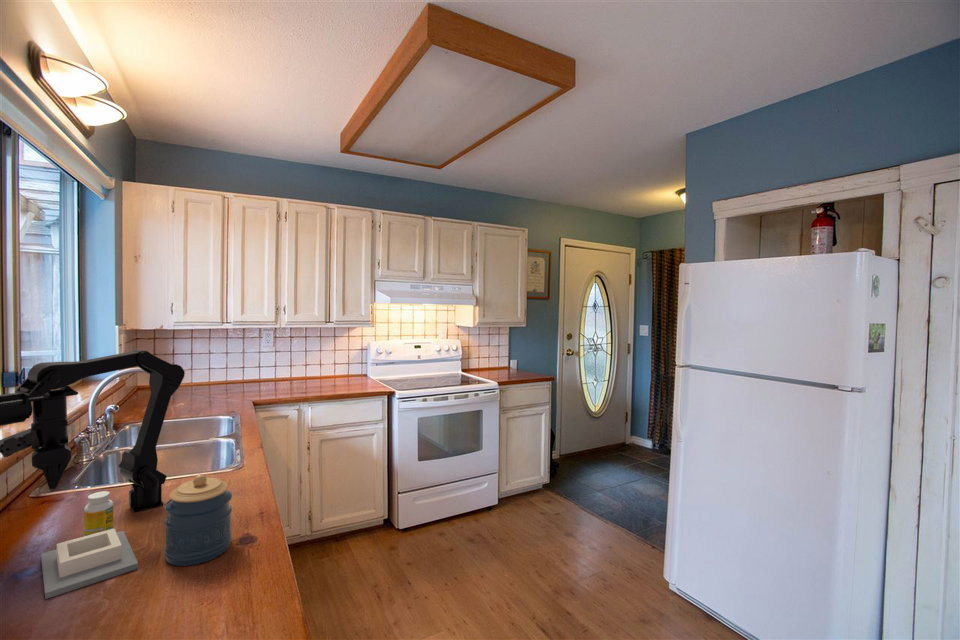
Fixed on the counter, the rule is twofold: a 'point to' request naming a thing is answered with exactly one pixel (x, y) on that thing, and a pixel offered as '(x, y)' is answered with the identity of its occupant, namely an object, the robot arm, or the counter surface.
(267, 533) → the counter surface
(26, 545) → the counter surface
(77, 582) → the socket board
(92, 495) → the supplement bottle
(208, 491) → the canister
